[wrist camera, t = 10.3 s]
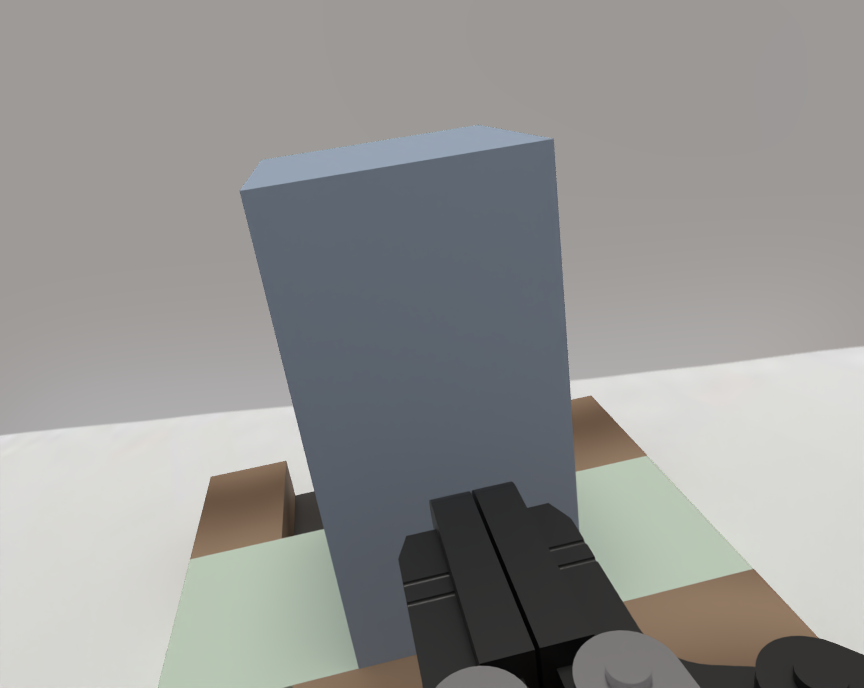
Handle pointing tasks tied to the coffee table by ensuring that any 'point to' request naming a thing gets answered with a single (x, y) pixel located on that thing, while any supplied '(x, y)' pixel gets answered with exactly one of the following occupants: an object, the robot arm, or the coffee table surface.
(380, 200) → the block
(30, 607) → the coffee table surface
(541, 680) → the robot arm
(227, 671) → the pad
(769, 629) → the deck
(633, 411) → the coffee table surface
